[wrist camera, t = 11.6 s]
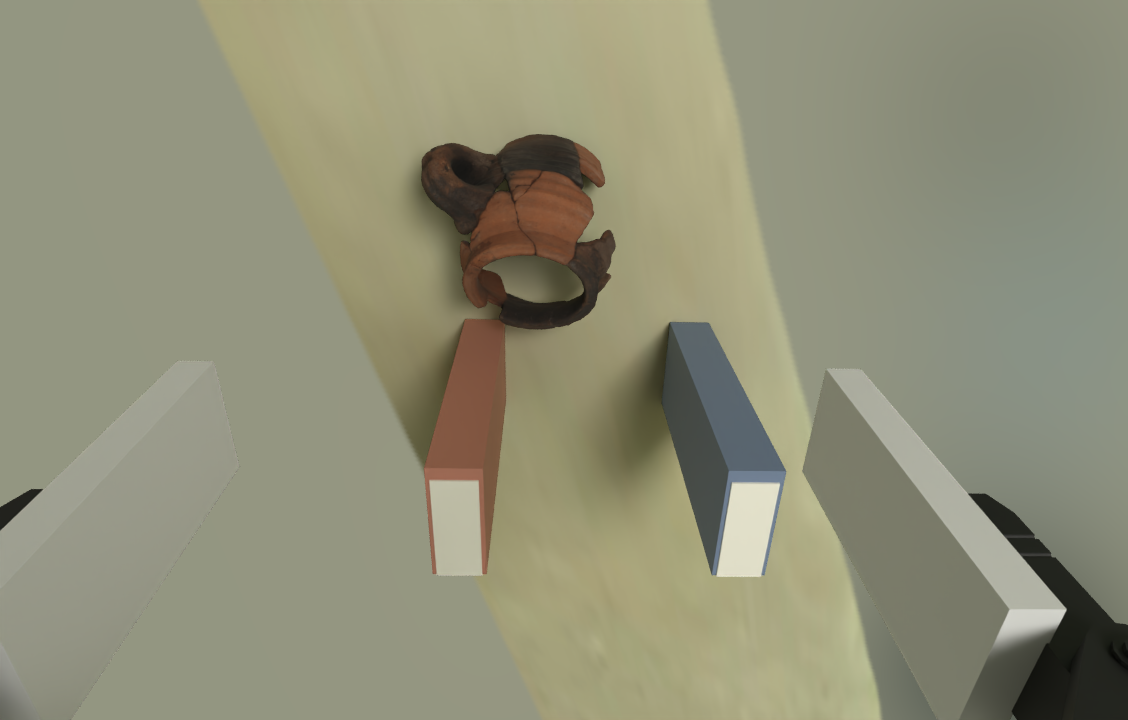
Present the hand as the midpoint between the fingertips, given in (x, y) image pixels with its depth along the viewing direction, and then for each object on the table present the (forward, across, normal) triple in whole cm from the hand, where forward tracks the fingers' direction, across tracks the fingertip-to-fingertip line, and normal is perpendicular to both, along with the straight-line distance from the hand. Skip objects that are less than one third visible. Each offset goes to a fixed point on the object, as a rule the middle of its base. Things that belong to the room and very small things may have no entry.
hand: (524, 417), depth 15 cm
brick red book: (+27, -3, -13) cm, 30 cm away
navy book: (+27, +10, -13) cm, 31 cm away
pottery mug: (+28, -1, -1) cm, 28 cm away
